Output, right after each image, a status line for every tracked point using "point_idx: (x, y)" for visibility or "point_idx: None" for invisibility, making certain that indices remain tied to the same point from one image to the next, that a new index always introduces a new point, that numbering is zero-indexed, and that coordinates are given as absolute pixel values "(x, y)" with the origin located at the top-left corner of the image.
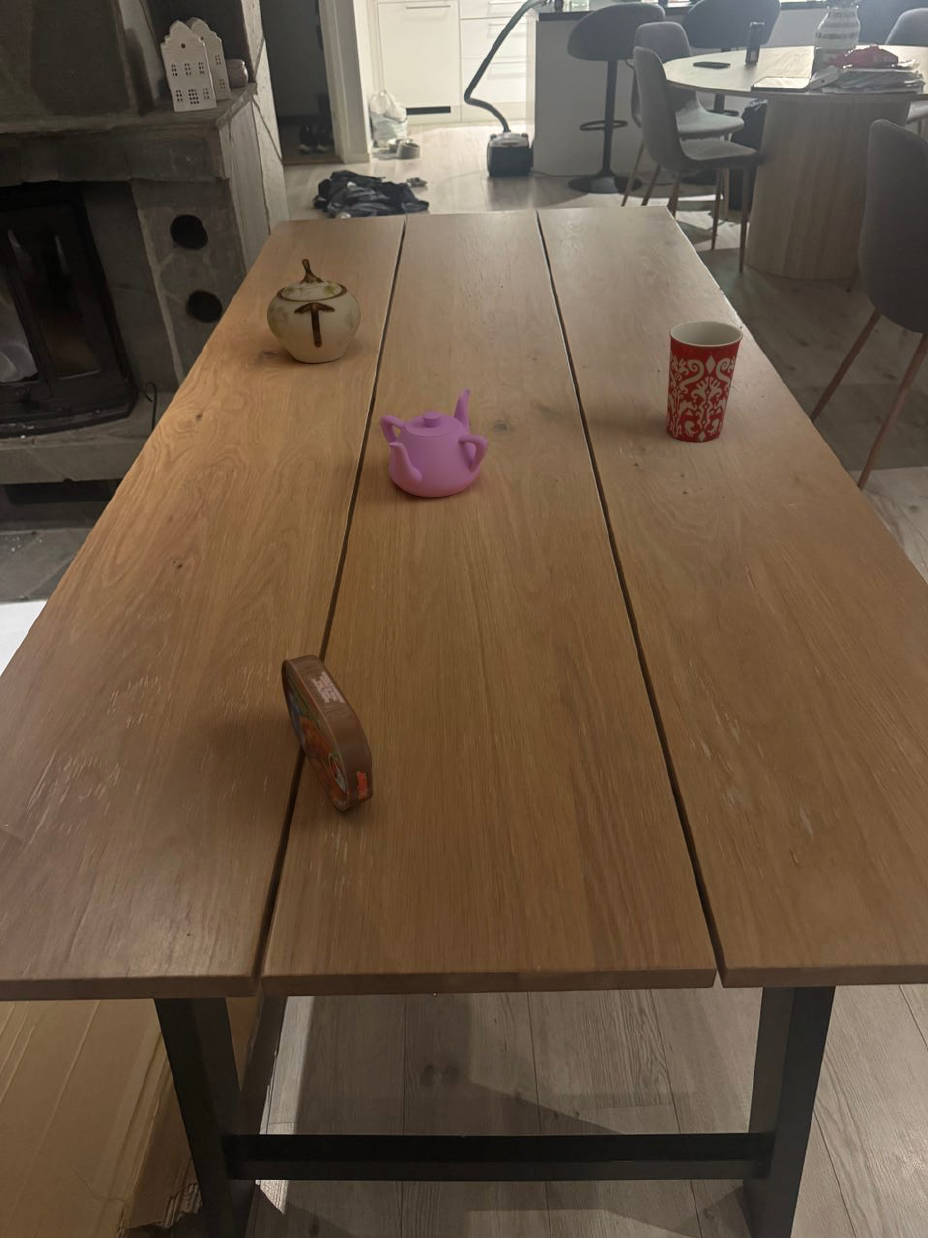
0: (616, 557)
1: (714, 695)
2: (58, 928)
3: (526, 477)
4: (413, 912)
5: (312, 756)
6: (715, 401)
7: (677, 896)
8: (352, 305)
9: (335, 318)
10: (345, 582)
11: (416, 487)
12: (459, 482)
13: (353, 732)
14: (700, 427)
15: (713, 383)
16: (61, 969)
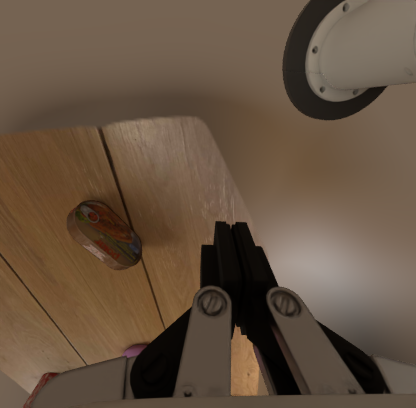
0: (54, 322)
1: None
2: (192, 138)
3: (107, 354)
4: (48, 157)
5: (124, 226)
6: (32, 394)
7: None
8: None
9: None
10: (154, 306)
11: (142, 349)
12: (126, 352)
13: (70, 229)
14: (44, 380)
15: (27, 405)
16: (181, 118)
